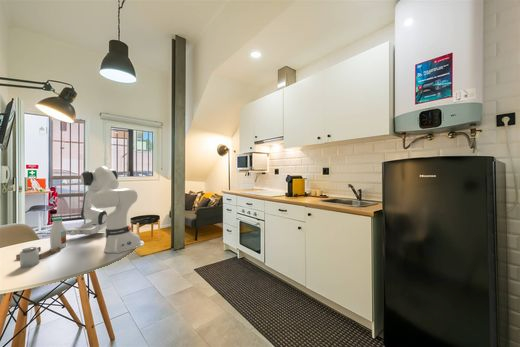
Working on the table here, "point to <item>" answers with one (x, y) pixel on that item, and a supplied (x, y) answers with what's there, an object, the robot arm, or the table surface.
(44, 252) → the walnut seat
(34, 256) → the grey jar
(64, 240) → the milk bottle
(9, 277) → the table surface
